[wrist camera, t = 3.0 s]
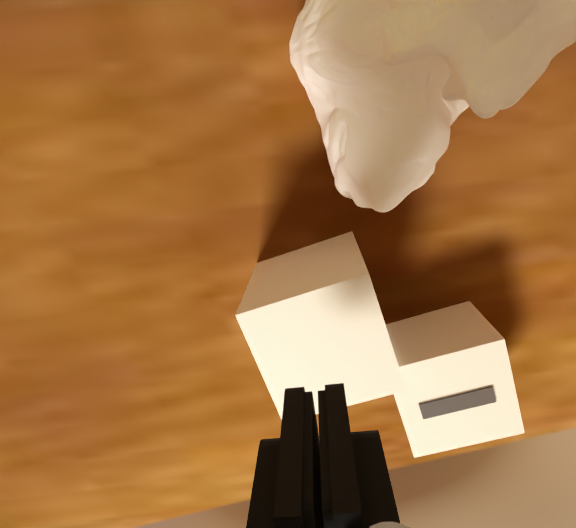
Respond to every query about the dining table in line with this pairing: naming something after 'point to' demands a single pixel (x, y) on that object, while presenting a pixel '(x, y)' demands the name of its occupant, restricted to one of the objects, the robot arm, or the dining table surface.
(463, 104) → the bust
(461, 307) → the marked block
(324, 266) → the cream block
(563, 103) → the dining table surface
